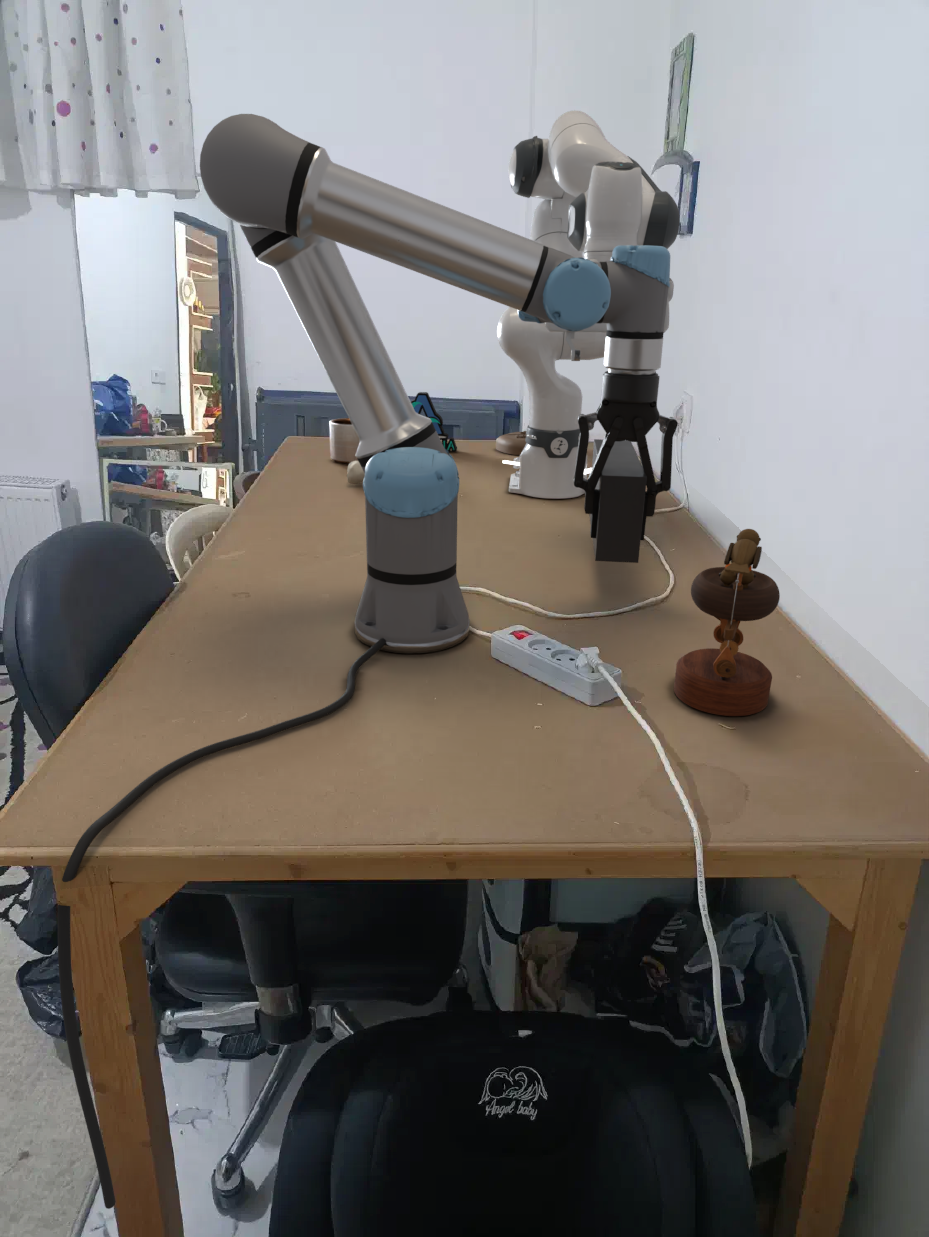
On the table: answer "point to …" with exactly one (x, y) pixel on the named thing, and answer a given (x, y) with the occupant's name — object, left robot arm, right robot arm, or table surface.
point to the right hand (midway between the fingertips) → (603, 361)
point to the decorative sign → (433, 418)
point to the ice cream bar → (511, 443)
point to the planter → (343, 441)
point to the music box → (729, 635)
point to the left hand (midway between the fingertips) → (616, 536)
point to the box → (619, 504)
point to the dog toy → (355, 473)
